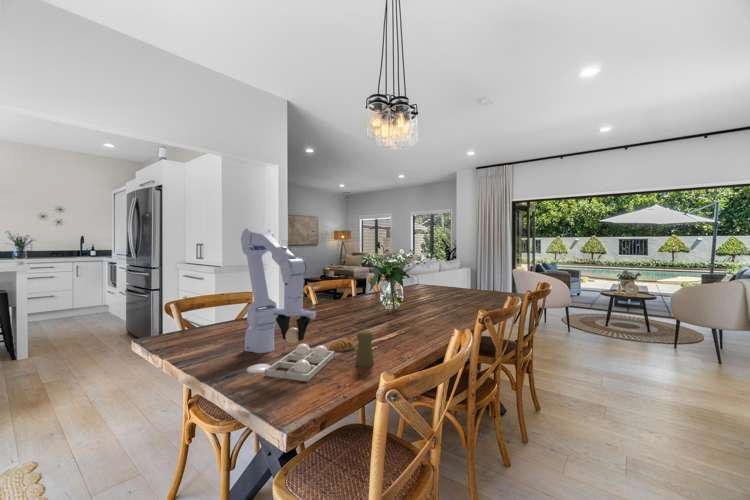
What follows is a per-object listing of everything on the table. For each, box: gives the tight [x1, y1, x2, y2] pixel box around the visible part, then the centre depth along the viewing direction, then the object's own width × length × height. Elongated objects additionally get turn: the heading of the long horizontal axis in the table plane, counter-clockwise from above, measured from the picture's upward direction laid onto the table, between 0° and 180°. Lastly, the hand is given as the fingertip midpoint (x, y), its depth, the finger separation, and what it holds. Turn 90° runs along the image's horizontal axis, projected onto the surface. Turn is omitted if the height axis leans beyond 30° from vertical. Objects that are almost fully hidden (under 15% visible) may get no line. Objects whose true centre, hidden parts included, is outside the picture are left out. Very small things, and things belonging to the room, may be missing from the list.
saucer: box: [246, 363, 271, 374], centre depth 98 cm, size 7×7×1 cm
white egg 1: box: [295, 343, 311, 356], centre depth 108 cm, size 5×5×5 cm
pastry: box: [328, 337, 356, 353], centre depth 118 cm, size 9×7×4 cm
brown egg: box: [285, 326, 300, 344], centre depth 102 cm, size 5×5×5 cm
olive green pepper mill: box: [355, 329, 375, 368], centre depth 104 cm, size 6×6×11 cm
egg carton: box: [264, 348, 336, 382], centre depth 101 cm, size 14×20×2 cm
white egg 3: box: [313, 345, 329, 358], centre depth 107 cm, size 5×5×5 cm
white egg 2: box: [294, 359, 311, 374], centre depth 94 cm, size 5×5×5 cm
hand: (293, 339), depth 102 cm, fingers closed on brown egg, 5 cm apart
